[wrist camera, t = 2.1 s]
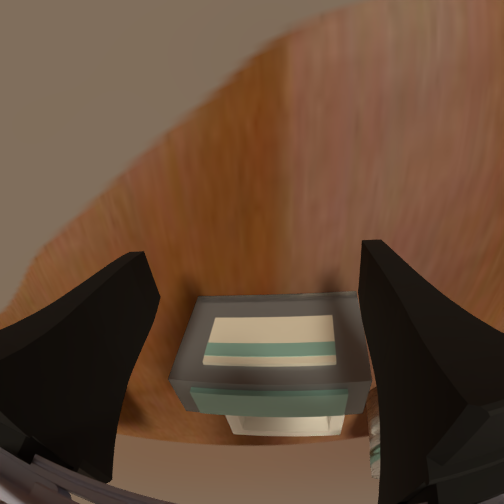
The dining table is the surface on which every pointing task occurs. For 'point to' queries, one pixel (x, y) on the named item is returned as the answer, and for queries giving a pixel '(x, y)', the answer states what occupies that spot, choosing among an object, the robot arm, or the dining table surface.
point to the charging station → (275, 362)
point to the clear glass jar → (374, 431)
